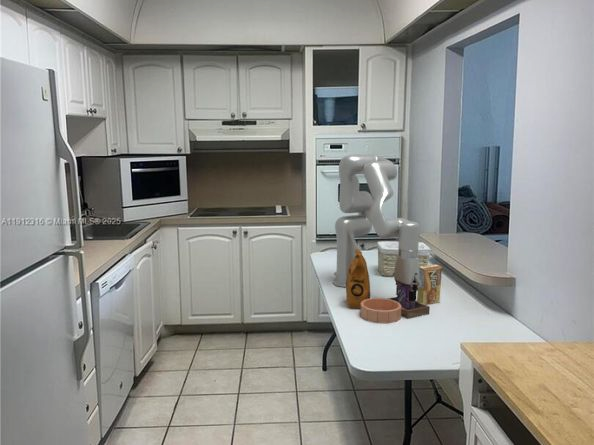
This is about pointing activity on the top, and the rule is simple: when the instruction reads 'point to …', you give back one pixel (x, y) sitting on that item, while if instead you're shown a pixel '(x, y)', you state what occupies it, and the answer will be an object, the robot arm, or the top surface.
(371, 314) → the bowl
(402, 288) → the beverage can
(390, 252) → the storage basket
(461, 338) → the top surface
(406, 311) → the tray frame
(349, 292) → the coffee package
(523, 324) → the top surface
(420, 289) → the candy box
